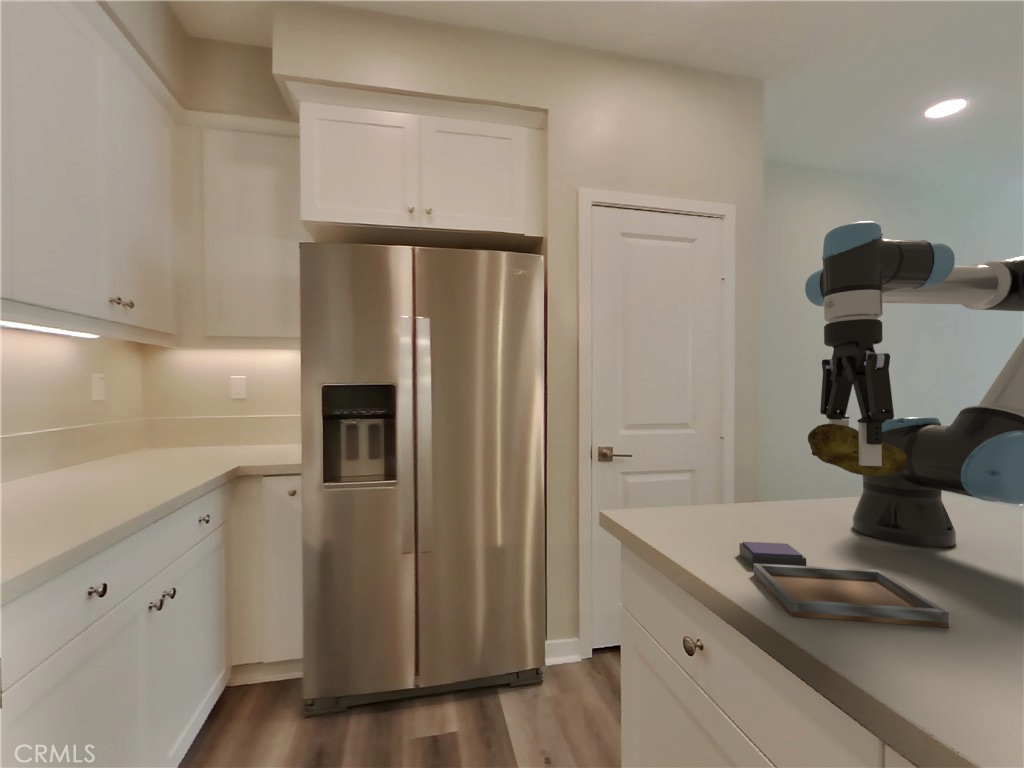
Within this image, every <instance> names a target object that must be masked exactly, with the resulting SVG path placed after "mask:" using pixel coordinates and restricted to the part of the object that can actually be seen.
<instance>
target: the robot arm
mask: <svg viewBox="0 0 1024 768" xmlns="http://www.w3.org/2000/svg"><path fill="white" fill-rule="evenodd" d="M883 235H884V234H883V233H882V227H881V225H880V224H879V223H877V222H875V221H872V220H871V221H870V220H867V221H865V220H864V221H857V222H856V221H855V222H850V223H847V224H842V225H840V226H837V227H835V228H833V229H831V230H830V231H828V232H827V233H826V234H825V236H824V239H823V247H822V248H823V249H822V256H821V259H822V268H821V269H819V270H817V271H815V272H813V273H812V274H810V275H809V277H808V278H807V279H806V282H805V284H804V287H805V288H804V292H805V296H806V298H807V299H808V301H809V302H811V304H813V305H815V306H817V307H822V308H823V311H824V312H823V317H824V318H823V319H824V321H825V322H828V323H826V324H825V325H824V326H823V340H824V341H823V343H824V345H825V346H826V347H830V348H831V347H832V348H833V352H832V356H831V358H830V359H824V358H823V359H822V360H821V369H822V382H821V396H820V408H819V409H820V411H819V412H820V414H821V415H825V417H826V418H827V420H828V423H829V424H837V425H844V426H848V427H850V425H849V424H850V421H849V419H850V418H851V417H850V416H849V415H848V414H847V412H848V411H847V410H848V406H849V401H850V398H851V393H852V389H854V393H855V397H856V400H857V404H858V408H859V412H860V415H861V418H860V417H859V418H858V419H857V423H858V428H857V430H858V431H859V465H861V466H882V442H884V443H887V444H889V445H892V446H894V447H896V448H898V449H900V450H901V451H903V452H904V453H905V454H906V455H907V457H908V463H907V468H906V469H905V470H904V471H903V472H901V473H898V474H895V475H890V476H865V475H862V493H861V495H860V498H859V500H858V504H857V506H856V508H855V510H854V513H853V516H852V527H853V529H854V530H855V531H857V532H858V533H861V534H863V535H866V536H868V537H871V538H874V539H878V540H882V541H887V542H890V543H895V544H899V545H900V544H901V545H906V546H914V547H924V548H947V547H948V548H949V547H953V546H955V545H956V543H957V538H956V537H957V536H956V534H957V533H956V530H955V527H954V525H953V523H952V521H951V518H950V516H949V513H948V511H947V509H946V507H945V504H944V502H943V500H942V491H944V492H949V493H953V494H958V495H963V496H967V497H972V498H975V499H978V500H981V501H984V502H985V501H986V502H991V503H992V502H993V503H996V502H997V503H1004V504H1010V505H1011V504H1012V505H1023V504H1024V337H1023V338H1022V340H1021V341H1020V342H1019V344H1018V346H1017V347H1016V348H1015V350H1014V352H1013V353H1012V354H1011V355H1010V356H1009V359H1008V360H1007V362H1006V363H1005V365H1004V366H1003V367H1002V369H1001V371H1000V372H999V373H998V375H997V377H996V378H995V380H994V381H993V383H991V385H990V387H989V389H988V390H987V391H986V393H985V395H984V396H983V398H982V399H981V401H980V402H979V403H978V405H972V406H971V405H970V406H967V407H965V408H962V409H960V411H959V413H958V414H957V416H956V417H955V418H954V419H953V422H952V423H951V424H950V425H942V423H941V421H940V419H939V418H938V417H935V416H919V417H918V416H917V417H916V416H914V417H895V414H894V413H895V412H894V405H893V396H892V387H891V386H892V385H891V378H890V371H889V370H890V363H891V362H890V361H891V355H890V353H889V352H886V353H884V352H883V353H882V352H881V353H877V352H876V351H875V347H874V346H875V345H878V344H881V343H882V342H883V339H884V338H883V337H884V336H883V321H881V319H880V318H881V317H882V316H883V304H914V305H915V304H920V305H921V304H923V305H926V304H928V305H961V306H962V307H964V308H967V309H970V310H974V311H977V310H979V311H1002V312H1003V311H1005V312H1024V255H1022V256H1021V255H1020V256H1017V257H1012V258H1008V259H1003V260H998V261H996V260H995V261H991V260H990V261H989V260H988V261H982V262H977V263H975V264H973V265H955V260H956V257H955V253H954V251H953V249H952V248H951V247H950V246H949V245H948V244H945V243H943V242H939V241H930V240H926V239H921V240H909V239H908V240H907V239H906V240H905V239H888V238H883ZM894 417H895V418H894Z"/></svg>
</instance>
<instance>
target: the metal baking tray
mask: <svg viewBox="0 0 1024 768" xmlns="http://www.w3.org/2000/svg"><path fill="white" fill-rule="evenodd" d="M753 567H754V568H753V576H754V577H755V578H756V579H757V580H758V581H759V583H760V584H761V585H763V587H764V588H765V590H767V591H768V592H769V594H770V595H771V596H772V597H773V598H774V599H775V600H776V601H777V602H778V603H779V605H780V606H781V607H782V608H783V609H784V610H785V611H786V612H787V613H788V615H790V617H795V618H797V617H798V618H811V619H812V618H813V619H824V620H839V621H840V620H841V621H852V622H853V621H855V622H870V623H883V624H896V625H897V624H898V625H910V626H911V625H912V626H924V627H926V626H927V627H938V628H939V627H940V628H941V627H942V628H950V613H949V611H947V609H944V608H942V607H941V606H939V605H938V604H936V603H934V602H933V601H931V600H929V599H927V598H926V597H925V596H922V595H921V594H920V593H918V592H916V591H915V590H913V589H911V588H910V587H908V586H906V585H905V584H903V583H901V582H900V581H898V580H897V579H895V578H894V577H892V576H890V575H888V574H887V573H885V572H884V571H882V570H880V569H865V568H848V567H830V566H829V567H828V566H826V567H825V566H811V565H806V566H794V565H775V564H756V563H753Z"/></svg>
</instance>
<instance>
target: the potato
mask: <svg viewBox="0 0 1024 768" xmlns="http://www.w3.org/2000/svg"><path fill="white" fill-rule="evenodd" d="M807 442H808V445H809V448H810V450H811V455H812V456H814V457H815V456H816V458H818V459H819V460H820V461H822V462H823V463H826V464H829V465H832V466H834V467H839V468H841V469H843V470H844V471H846V472H849V473H851V474H856V475H860V476H863V475H865V476H890V475H895V474H898V473H901V472H903V471H904V470H905V469H906V468H907V463H908V457H907V455H906V454H905V453H904V452H903V451H901V450H900V449H898V448H896V447H894V446H892V445H889V444H887V443H884V442H882V466H861V465H859V430H858V429H856V428H854V427H851V426H849V427H848V426H844V425H837V424H829V422H828V423H824V424H821V425H817V426H816V427H814V428H813V429H811V431H810V432H809V433H808V435H807Z"/></svg>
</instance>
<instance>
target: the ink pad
mask: <svg viewBox="0 0 1024 768" xmlns="http://www.w3.org/2000/svg"><path fill="white" fill-rule="evenodd" d="M739 555H740V557H742V559H743V560H744V561H745V562H746V563H747V564H748V565H749V566H750V567H751V568H752V569H754V567H753V563H756V564H775V565H794V566H807V558H806V557H805V556H804V555H803V554H802V553H800V552H799V551H798V550H797V549H796V548H794V547H792V546H791V544H788V543H783V542H780V543H779V542H759V541H758V542H756V541H742V542H740V543H739Z"/></svg>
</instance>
